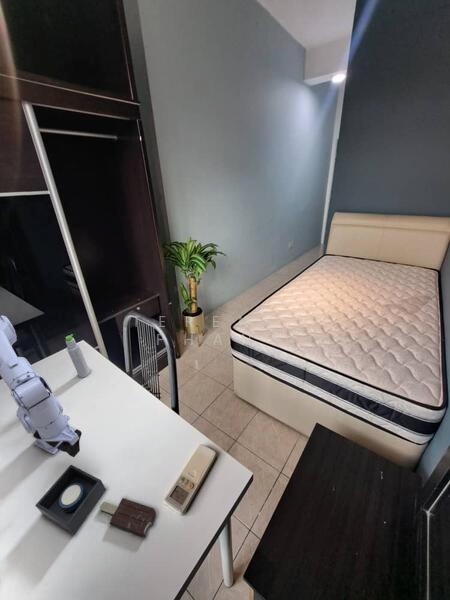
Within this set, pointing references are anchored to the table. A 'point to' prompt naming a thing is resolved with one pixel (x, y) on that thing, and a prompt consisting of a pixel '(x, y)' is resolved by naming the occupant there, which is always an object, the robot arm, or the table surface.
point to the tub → (76, 517)
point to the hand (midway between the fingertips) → (66, 448)
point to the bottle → (77, 357)
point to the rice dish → (72, 497)
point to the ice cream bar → (130, 516)
